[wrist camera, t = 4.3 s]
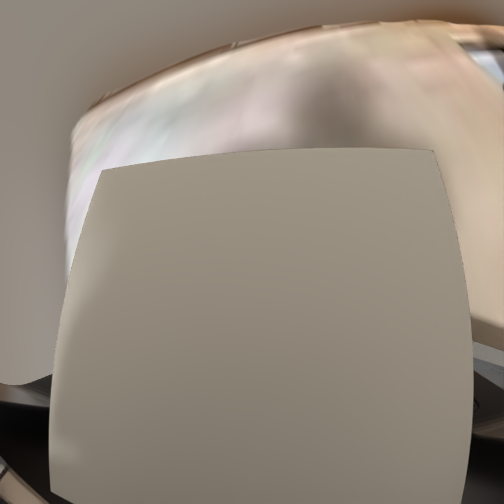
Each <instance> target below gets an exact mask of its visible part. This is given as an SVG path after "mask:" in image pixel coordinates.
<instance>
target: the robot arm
mask: <svg viewBox="0 0 504 504" xmlns="http://www.w3.org/2000/svg"><path fill="white" fill-rule="evenodd" d="M52 376H53V374H51V375H48V376H46V377H44V378H41V379H38V380H36V381H33V382H31V383H27V384H24V385H7V384H2V383H0V504H73V503H71V502H69V501H68V500H66V499H64V498H62V497H60V496H58V495H56V494H55V493H53V492H51V488H50V471H49V417H50V399H51V386H52ZM473 377H474V386H473V417H472V431H471V442H470V451H469V459H468V466H467V473H466V479H465V485H464V490H463V495H462V500H461V504H504V389H503V388H501V387H500V386H498V385H496V384H495V383H493V382H492V381H490V380H488V379H487V378H485V377H484V376H482V375H481V374H479V373H478V372H477V371H475V370H474V369H473Z"/></svg>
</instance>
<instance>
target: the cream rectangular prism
mask: <svg viewBox="0 0 504 504" xmlns="http://www.w3.org/2000/svg"><path fill="white" fill-rule="evenodd" d="M473 386H474V377H473V346H472V331H471V319H470V310H469V301H468V293H467V286H466V280H465V273H464V268H463V262H462V257H461V251H460V247H459V242H458V237H457V233H456V228H455V224H454V220H453V216H452V212H451V208H450V204H449V201H448V197H447V194H446V190H445V187H444V184H443V180H442V177H441V174H440V171H439V168H438V165H437V162H436V159H435V156H434V153H433V151H432V150H417V149H396V148H298V149H276V150H259V151H245V152H233V153H222V154H212V155H202V156H193V157H185V158H177V159H169V160H162V161H155V162H148V163H142V164H135V165H129V166H123V167H118V168H112V169H107V170H102V172H101V175H100V177H99V180H98V183H97V185H96V188H95V191H94V194H93V197H92V200H91V203H90V205H89V209H88V212H87V215H86V218H85V221H84V224H83V228H82V231H81V234H80V238H79V241H78V245H77V248H76V252H75V256H74V260H73V263H72V267H71V272H70V276H69V280H68V284H67V289H66V293H65V299H64V303H63V308H62V313H61V319H60V325H59V331H58V337H57V344H56V350H55V358H54V367H53V376H52V386H51V399H50V417H49V471H50V488H51V492H53V493H55V494H56V495H58V496H60V497H62V498H64V499H66V500H68V501H69V502H71V503H73V504H461V500H462V495H463V490H464V485H465V479H466V473H467V466H468V459H469V451H470V442H471V431H472V417H473Z"/></svg>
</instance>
